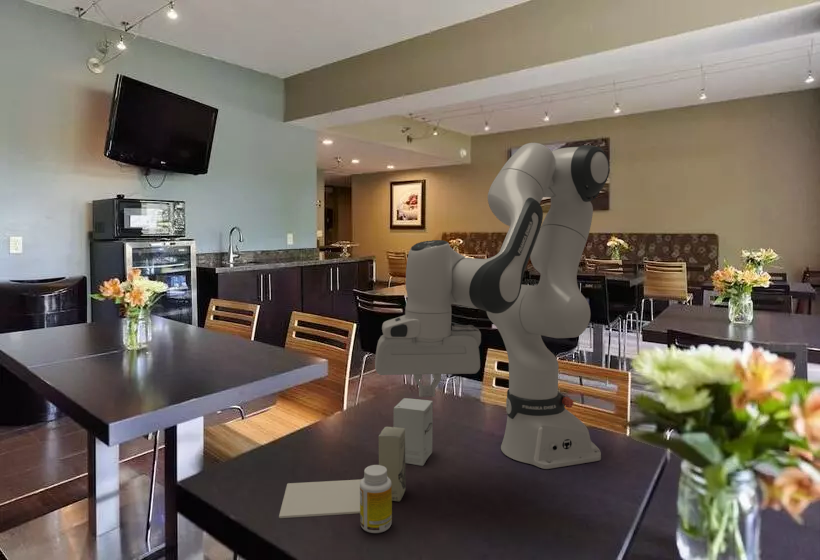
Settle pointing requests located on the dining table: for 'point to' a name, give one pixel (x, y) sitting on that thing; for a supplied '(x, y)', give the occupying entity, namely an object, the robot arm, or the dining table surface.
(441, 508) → the dining table surface
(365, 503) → the supplement bottle
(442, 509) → the dining table surface
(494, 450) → the dining table surface
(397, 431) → the box
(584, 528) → the dining table surface
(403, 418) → the supplement box
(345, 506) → the mat
